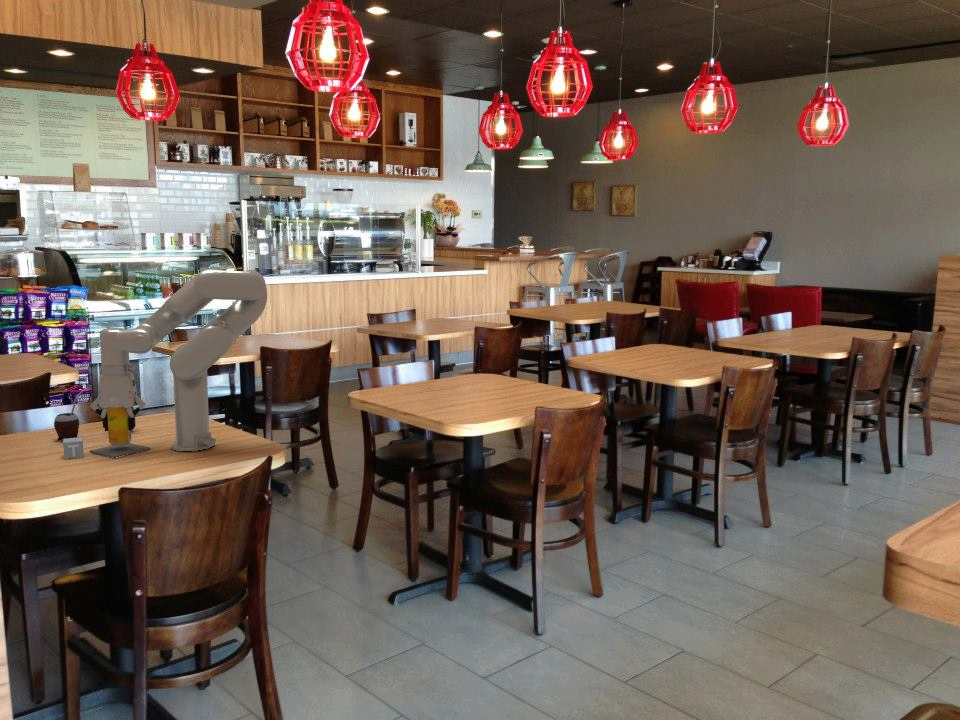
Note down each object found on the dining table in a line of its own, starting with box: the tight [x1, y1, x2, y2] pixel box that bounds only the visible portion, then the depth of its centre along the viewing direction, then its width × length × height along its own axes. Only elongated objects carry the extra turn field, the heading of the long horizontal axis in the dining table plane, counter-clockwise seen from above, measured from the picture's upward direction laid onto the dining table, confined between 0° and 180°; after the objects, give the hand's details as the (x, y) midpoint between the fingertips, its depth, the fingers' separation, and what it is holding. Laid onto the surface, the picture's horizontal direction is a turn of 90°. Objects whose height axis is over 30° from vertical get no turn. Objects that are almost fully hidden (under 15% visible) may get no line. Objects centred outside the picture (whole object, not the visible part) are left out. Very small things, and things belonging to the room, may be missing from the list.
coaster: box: [89, 442, 152, 459], centre depth 240 cm, size 12×12×1 cm
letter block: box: [62, 436, 85, 460], centre depth 234 cm, size 5×5×5 cm
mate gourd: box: [53, 390, 84, 443], centre depth 253 cm, size 8×8×15 cm
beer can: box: [107, 396, 132, 446], centre depth 239 cm, size 6×6×15 cm
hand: (119, 429), depth 239 cm, fingers closed on beer can, 6 cm apart
